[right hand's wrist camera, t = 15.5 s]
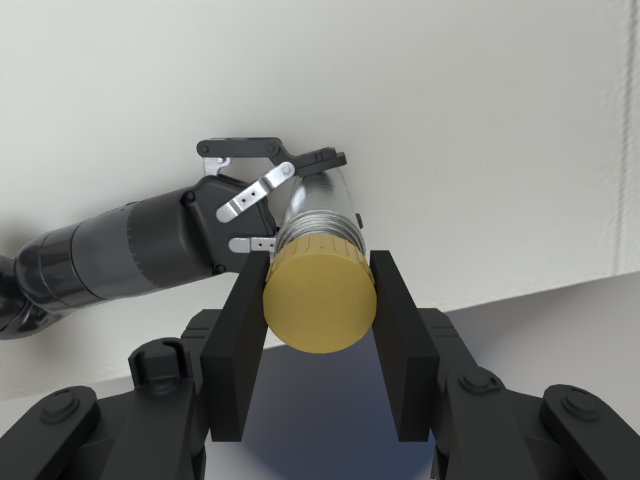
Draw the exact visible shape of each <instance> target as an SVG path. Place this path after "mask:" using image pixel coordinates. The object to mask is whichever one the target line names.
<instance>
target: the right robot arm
mask: <svg viewBox="0 0 640 480" xmlns="http://www.w3.org/2000/svg"><path fill="white" fill-rule="evenodd" d="M269 267H270V253H269V250H251V251H250V253H249V255H248V258H247V260H246V262H245V264H244V266H243V268H242V270H241V272H240V274H239V276H238V278H237V280H236V282H235V284H234V286H233V288H232V291H231V293H230V295H229V297H228V299H227V301H226V303H225V305H224V307H223V309H203V310H202V311H201V312H199V313H198V314H197V315H195V316H194V317H193V318H192V319H191V321H190V322H189V324H188V325H187V327H186V330H184V332H183V334H182V335H181V339H179V338H175V337H169V338H160V339H156V340H152V341H150V342H148V343H146V344H143V345H142V346H140V347H139V348H137V349H136V350H135V351H133V353H132V354H131V355H130V357H129V358H128V362H129V366H130V370H131V374H132V378H133V383H134V386H135V388H134V390H133V391H130V392H127V393H124V394H120V395H115V396H111V397H107V398H103V399H99V400H97V397H96V393H95V392H94V391H93V390H92V389H91V388H90V387H85V386H73V387H68V388H64V389H61V390H58V391H55V392H54V393H52V394H50V395H48V396H46V397H44V398H42V399H41V400H40V401H39V402H37V403H36V404H35V405H34V406H32V407H31V408H30V409H29V410H28V411H27V412H26V413H25V414H24V415H23V416H22V417H21V418H20V419H19V420H18V421H17V422H16V423H15V424H14V425H13V426H12V427H11V428H10V429H9V430H8V431H7V432H6V433H5V434H4V435H3V436H2V437H1V438H0V480H204V476H205V466H206V451H205V445H204V442H205V440H206V436H207V434H208V431H209V428H210V431H211V438H212V442H241V439H242V435H243V431H244V426H245V422H246V418H247V413H248V410H249V405H250V401H251V397H252V392H253V388H254V384H255V380H256V376H257V372H258V367H259V363H260V359H261V355H262V350H263V346H264V342H265V338H266V334H267V329H268V324H267V322H266V320H265V317H264V307H263V292H264V288H265V285H266V282H265V280H266V277H267V274H268V271H269ZM370 269H371V272H372V275H373V278H374V282H375V285H374V287H375V291H376V295H377V304H376V315H375V318H374V321H373V323H372V325H371V326H372V330H373V334H374V339H375V342H376V347H377V351H378V356H379V360H380V364H381V368H382V372H383V377H384V381H385V385H386V389H387V394H388V398H389V402H390V406H391V411H392V415H393V419H394V423H395V427H396V431H397V436H398V440H399V442H427V441H428V436H429V430H430V427H431V430H432V433H433V436H434V438H435V441H436V445H435V451H434V457H433V464H432V470H431V477H430V478H431V479H435V476H436V480H640V436H639V435H638V434H637V433H636V432H635V431H634V430H633V429H632V428H631V427H630V426H629V425H628V424H627V423H626V422H625V421H624V420H623V419H622V418H621V417H620V416H619V415H618V414H617V413H616V412H615V411H614V410H613V409H612V408H611V407H610V406H609V405H607V404H606V403H605V402H604V401H602V400H601V399H600V398H598V397H597V396H595V395H593V394H591V393H590V392H588V391H586V390H583V389H580V388H577V387H574V386H571V385H562V384H557V385H552V386H549V387H548V388H547V389H546V390H545V392H544V396H543V398H539V397H535V396H531V395H526V394H522V393H518V392H514V391H511V390H508V389H506V388H505V386H504V384H503V383H502V381H501V380H500V379H499V378H498V377H497V376H496V375H494V374H493V373H492V372H490V371H488V370H486V369H484V368H482V367H479V366H478V365H477V364H476V362H475V360H474V359H473V357H472V355H471V354H470V352H469V351H468V349H467V347H466V346H465V344H464V342H463V341H462V339H461V338H460V337H459V334H458V333H457V331H456V329H454V326H453V324H452V323H451V321H450V319H449V318H448V317H447V316H446V315H445V314H443V313H442V312H441V311H439V310H438V309H437V308H417V307H416V305H415V303H414V301H413V299H412V297H411V295H410V293H409V291H408V289H407V287H406V285H405V283H404V281H403V279H402V277H401V274H400V272H399V270H398V268H397V266H396V264H395V262H394V260H393V258H392V256H391V254H390V252H389V250H370Z"/></svg>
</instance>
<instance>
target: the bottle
mask: <svg viewBox="0 0 640 480" xmlns="http://www.w3.org/2000/svg"><path fill="white" fill-rule="evenodd" d="M320 233H322V234H328V235H335V236H337V237H339V238H342V239H344V240H347V241H348V242H349V243H351V244H352V245H354V246H355V247H357V248H358V250H359V251H360V253H361V254H362V255H363V256H365V243H364V239H363V236H362V233H361V230H360V227H359V224H358V221H357V218H356V215H355V212H354V209H353V206H352V203H351V200H350V197H349V194H348V191H347V188H346V185H345V182H344V179H343V176H342V174H341V172H340V170H339V169H338V168H337V167H336V168H332V169H329V170H325V171H322V172H318V173H315V174H311V175H308V176H305V177H301V178H299V175H298V176H297V178H296V181H295V184H294V187H293V190H292V193H291V196H290V199H289V202H288V205H287V208H286V211H285V214H284V217H283V220H282V223H281V226H280V229H279V232H278V235H277V238H276V241H275V247H274V256H276V254H277V253H279V252H280V251H281V250H282V249H283V248H284V245H287V244H289V243H290V242H292V241H294V240H295V238H297V239H298V238H300V237H303V236H307V234H309V235H312V234H320Z"/></svg>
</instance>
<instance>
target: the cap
mask: <svg viewBox="0 0 640 480" xmlns="http://www.w3.org/2000/svg"><path fill="white" fill-rule="evenodd" d="M265 282H266V285H265V288H264V292H263V307H264V317H265V320H266V322H267V324H268V326H269V328H270V329H271V330H272V332H273V333H274V334H275V335H276V336H277V337H278V338H279V339H280V340H281V341H283V342H284V343H286V344H287V345H289V346H291V347H293V348H295V349H298V350H301V351H305V352H309V353H330V352H335V351H339V350H341V349H344V348H346V347H349V346H350V345H352V344H354V343H355V342H357V341H358V340H359V339H360V338H362V337H363V336H364V334H365V333H366V332H367V331H368V330H369V328H370V327H371V325H372V323H373V321H374V318H375V315H376V304H377V295H376V291H375V287H374V285H375V282H374V278H373V275H372V272H371V269H370V266H368V264H367V261H366V258H365V256H363V255H362V254H361V253H360V251H359V250H358V248H357V247H355V246H354V245H352V244H351V243H349V242H348V241H347V240H344V239H342V238H339V237H337V236H335V235H328V234H322V233H320V234H312V235H309V234H307V236H303V237H300V238H298V239H297V238H295V240H294V241H292V242H290V243H289V244H287V245H284V248H283V249H282V250H281V251H280V252H279V253H277V254H276V256H275V259H274V261H273V263H271V264H270V267H269V271H268V274H267V277H266V280H265Z"/></svg>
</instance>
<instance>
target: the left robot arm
mask: <svg viewBox="0 0 640 480" xmlns="http://www.w3.org/2000/svg"><path fill="white" fill-rule="evenodd" d="M197 152H198V154H199V155H200V156H201V157H203V164H204V172H205V177H203V178H202V179H201V180H200V181H199V182H198V183H197V184H196V185H194V186H191V187H187V188H184V189H181V190H177V191H174V192H171V193H167V194H164V195H160V196H157V197H154V198H150V199H147V200H144V201H140V202H132V203H129V204H126V205H125V206H123V207H120V208H117V209H114V210H111V211H108V212H106V213H103V214H101V215H99V216H97V217H95V218H93V219H90V220H87V221H84V222H81V223H77V224H74V225H71V226H67V227H64V228H61V229H57V230H54V231H50V232H47V233H44V234H42V235H40V236H38V237H35V238H33V239H31V240H30V241H29V242H27V243H26V244H25V245H23V246H22V248H21V249H20V250H19V252H18V253H17V255H16V258H15V260H12V259H10V258H7V257H5V256H2V255H0V340H14V339H20V338H25V337H29V336H32V335H34V334H36V333H38V332H40V331H42V330H44V329H46V328H47V327H49V326H51V325H53V324H54V323H56V322H58V321H60V320H62V319H63V318H65V317H67V316H68V315H70V314H71V313H73V312H74V311H76V310H77V309H82V308H86V307H90V306H94V305H97V304H101V303H105V302H108V301H112V300H116V299H120V298H129V297H136V296H141V295H146V294H150V293H153V292H157V291H161V290H165V289H168V288H172V287H176V286H180V285H183V284H187V283H191V282H195V281H198V280H202V279H206V278H210V277H213V276H217V275H219V274H222V273H226V272H234V273H239V274H240V272H241V270H242V268H243V266H244V264H245V262H246V260H247V258H248V255H249V253H250V251H251V250H269V252H272V253H274V247H275V241H276V238H277V235H278V232H279V229H280V226H281V225H276V223H275V220H274V218H273V216H272V215H271V213H270V212H269V210H268V200H267V197H266V195H267V194H269V193H270V192H271V191H272V190H273V189H275V188H276V187H278V186H279V185H280V184H282V183H283V182H285V181H286V180H288V179H289V178H290V177H293V176H297V175H299V178H301V177H305V176H308V175H311V174H315V173H318V172H322V171H325V170H329V169H332V168H336V167H339V166H342V165H345V164H347V161H346V157H345V154H344V152H340V153H336V151H335V148H330V147H327V148H323V149H320V150H317V151H313V152H310V153H306V154H303V155H300V156H292V155H290V154H289V153H288V152H287V150H286V149H285V148H284V146H283V145H282V142H281V140H280V139H278V138H275V137H268V138H211V139H207V140H204V141H200V142H199V143H198V144H197ZM233 157H268V158H269V159H270V160H271V162H272V163H273V164H274V165H275V166H274V167H273V168H271V169H270V170H268V171H267V172H265V173H264V174H262V175H261V176H260V177H258V178H257V179H255V180H254V181H252V182H251V183H250V184H249V183H246V182H243V181H240V180H237V179H234V178H231V177H228V176H225V175H223V174H220V170H221V168H222V167H226V166H228V165H229V164H231V163H232V161H233ZM355 215H356V218H357V221H358V224H359V227H360V229H361V228H363V224H362V220H361V217H360V214H358V213H357V214H355ZM272 244H273V245H272Z"/></svg>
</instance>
